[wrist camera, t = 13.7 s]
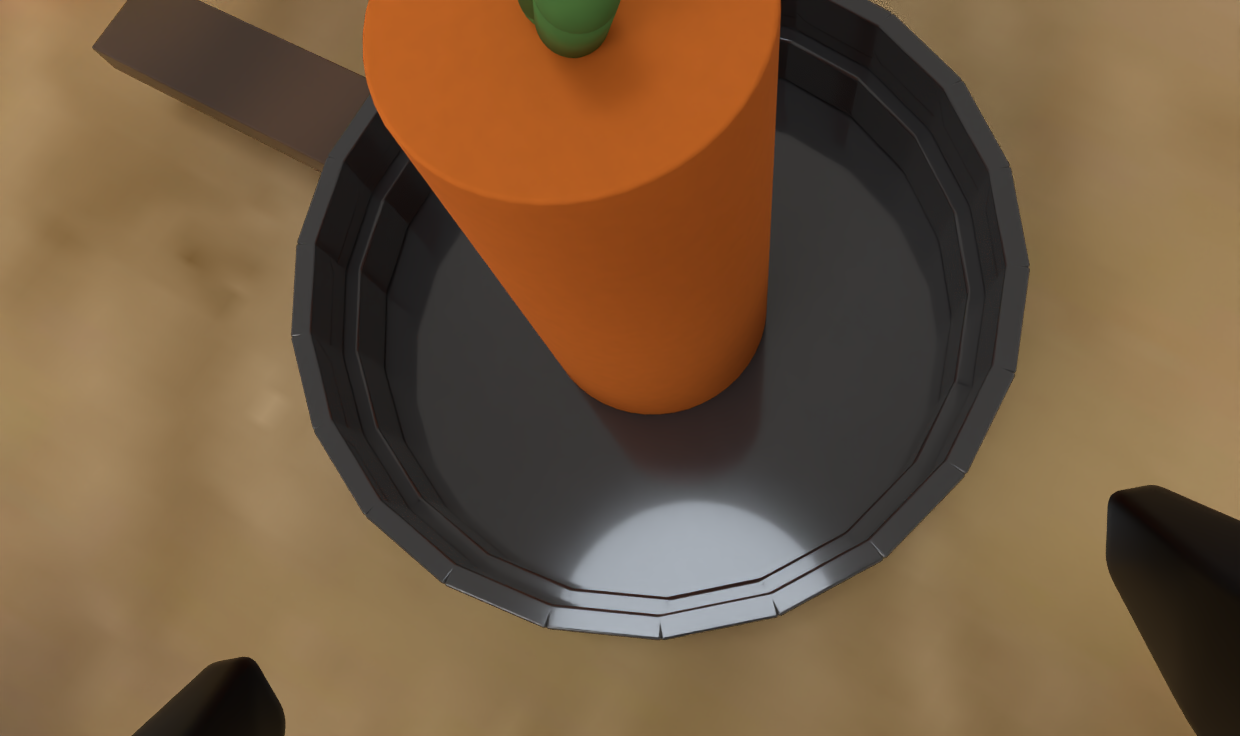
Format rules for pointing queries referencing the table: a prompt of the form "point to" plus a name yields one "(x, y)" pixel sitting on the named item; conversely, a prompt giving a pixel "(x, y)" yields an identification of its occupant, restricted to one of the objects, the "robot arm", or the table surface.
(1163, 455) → the table surface
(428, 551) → the pan
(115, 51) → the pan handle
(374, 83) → the plush carrot
